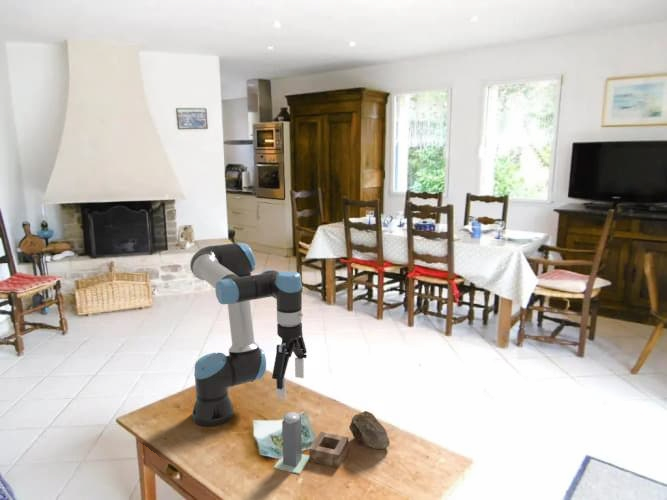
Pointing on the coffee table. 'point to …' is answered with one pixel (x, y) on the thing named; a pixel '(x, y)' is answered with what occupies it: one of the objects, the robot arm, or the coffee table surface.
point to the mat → (293, 469)
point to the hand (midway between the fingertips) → (290, 386)
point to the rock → (369, 431)
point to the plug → (291, 439)
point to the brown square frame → (329, 449)
